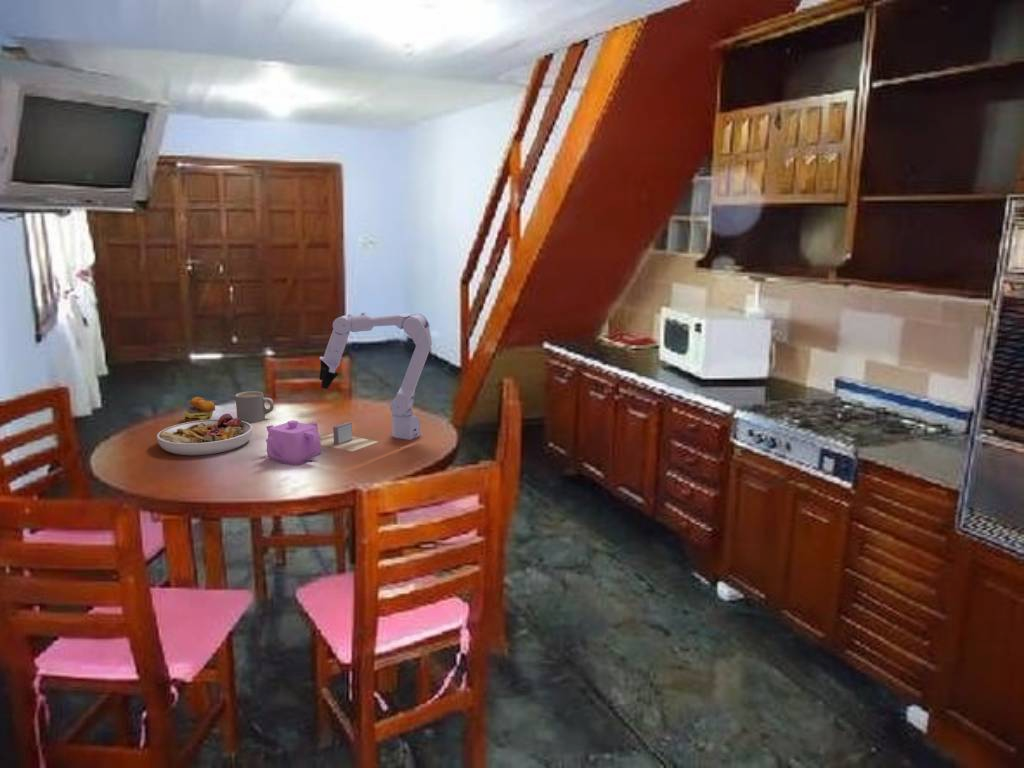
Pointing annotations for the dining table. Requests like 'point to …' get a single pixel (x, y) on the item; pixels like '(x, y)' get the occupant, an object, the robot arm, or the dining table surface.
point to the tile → (342, 433)
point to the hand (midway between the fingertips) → (323, 384)
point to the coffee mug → (252, 406)
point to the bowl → (205, 436)
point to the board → (346, 443)
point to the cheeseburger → (199, 410)
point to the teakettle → (293, 442)
